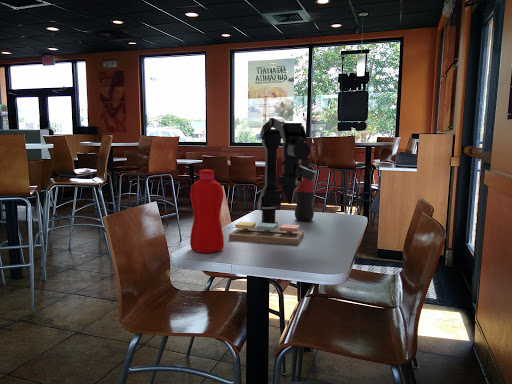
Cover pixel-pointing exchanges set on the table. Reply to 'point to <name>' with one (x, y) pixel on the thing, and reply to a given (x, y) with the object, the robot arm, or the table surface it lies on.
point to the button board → (267, 236)
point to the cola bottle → (304, 196)
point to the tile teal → (267, 227)
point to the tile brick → (289, 228)
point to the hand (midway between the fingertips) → (290, 203)
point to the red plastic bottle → (206, 214)
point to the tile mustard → (245, 225)
